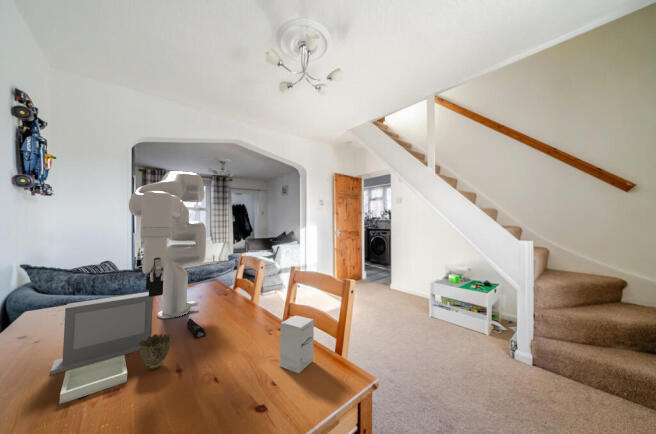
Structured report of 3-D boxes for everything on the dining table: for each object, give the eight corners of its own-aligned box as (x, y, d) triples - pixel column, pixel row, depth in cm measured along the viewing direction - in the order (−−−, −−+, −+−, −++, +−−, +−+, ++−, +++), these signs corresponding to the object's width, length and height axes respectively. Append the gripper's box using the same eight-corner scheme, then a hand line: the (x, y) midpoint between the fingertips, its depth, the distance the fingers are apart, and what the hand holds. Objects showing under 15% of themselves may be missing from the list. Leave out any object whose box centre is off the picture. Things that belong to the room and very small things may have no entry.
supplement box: (299, 374, 65) (300, 327, 66) (278, 366, 69) (279, 322, 69) (313, 361, 71) (314, 319, 72) (294, 354, 75) (295, 314, 76)
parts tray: (124, 362, 70) (124, 354, 70) (126, 381, 61) (127, 372, 61) (65, 379, 62) (66, 371, 62) (59, 404, 53) (60, 394, 53)
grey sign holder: (155, 337, 85) (157, 290, 86) (158, 344, 80) (160, 294, 81) (54, 363, 69) (57, 304, 69) (50, 374, 64) (54, 310, 64)
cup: (153, 377, 63) (154, 346, 64) (130, 373, 65) (132, 343, 65) (176, 361, 71) (177, 334, 71) (155, 358, 72) (156, 331, 72)
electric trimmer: (194, 324, 98) (195, 316, 98) (206, 337, 87) (206, 328, 87) (184, 327, 96) (184, 319, 96) (194, 340, 84) (195, 331, 85)
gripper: (138, 233, 74) (136, 288, 73) (142, 234, 61) (139, 301, 60) (167, 233, 79) (165, 284, 78) (176, 234, 66) (174, 296, 65)
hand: (154, 292), depth 69 cm, fingers open, 9 cm apart
